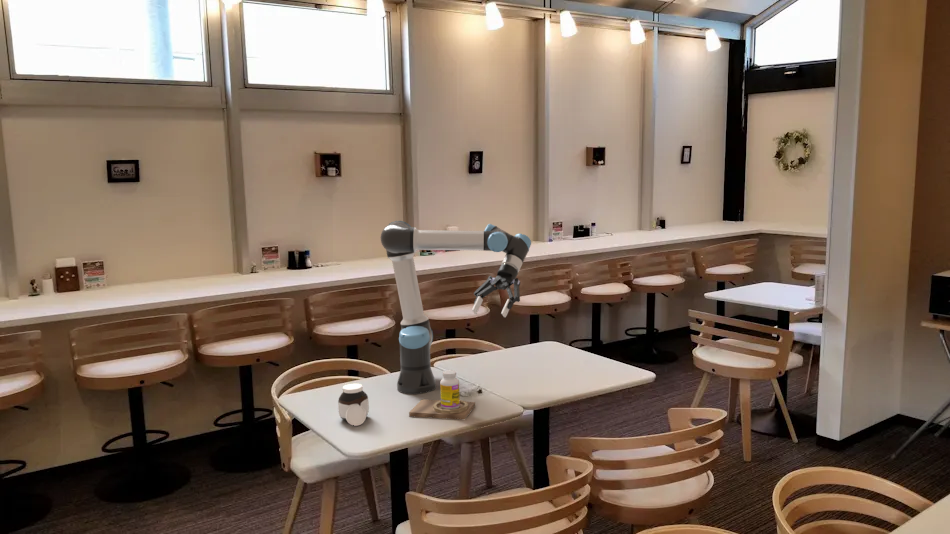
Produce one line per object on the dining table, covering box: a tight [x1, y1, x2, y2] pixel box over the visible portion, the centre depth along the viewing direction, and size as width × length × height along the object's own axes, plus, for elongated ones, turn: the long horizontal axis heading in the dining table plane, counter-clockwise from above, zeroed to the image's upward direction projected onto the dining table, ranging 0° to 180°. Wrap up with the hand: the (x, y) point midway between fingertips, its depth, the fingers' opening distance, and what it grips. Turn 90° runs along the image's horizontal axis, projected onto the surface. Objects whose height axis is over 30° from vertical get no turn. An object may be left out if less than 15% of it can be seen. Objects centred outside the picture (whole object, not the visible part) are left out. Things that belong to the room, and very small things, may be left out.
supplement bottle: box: [439, 369, 461, 410], centre depth 256 cm, size 7×7×13 cm
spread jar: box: [337, 383, 370, 427], centre depth 250 cm, size 12×11×12 cm
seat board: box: [408, 398, 476, 420], centre depth 257 cm, size 20×14×2 cm
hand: (488, 313), depth 276 cm, fingers open, 13 cm apart
